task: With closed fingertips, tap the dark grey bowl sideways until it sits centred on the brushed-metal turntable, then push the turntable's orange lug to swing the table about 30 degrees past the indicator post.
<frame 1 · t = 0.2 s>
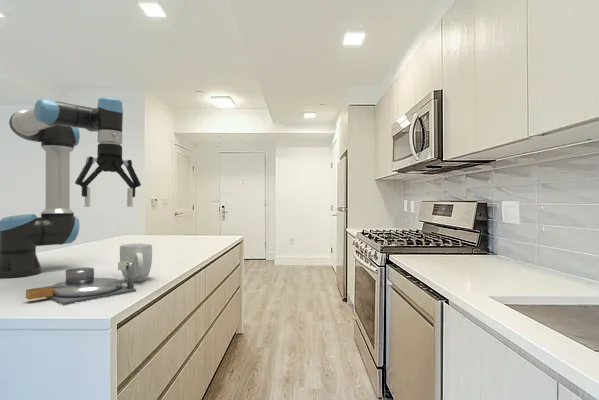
hand: (109, 206, 127), 27 cm above the table, fingers open, 13 cm apart
turntable: (77, 286, 117), point 2 cm above the table, hinge at 0.0°, touching dark grey bowl
mug: (136, 281, 137), on the table
dark grey bowl: (80, 281, 123), point 3 cm above the table, touching turntable
base plate: (87, 292, 119), on the table
indicator post: (130, 290, 122), resting on base plate
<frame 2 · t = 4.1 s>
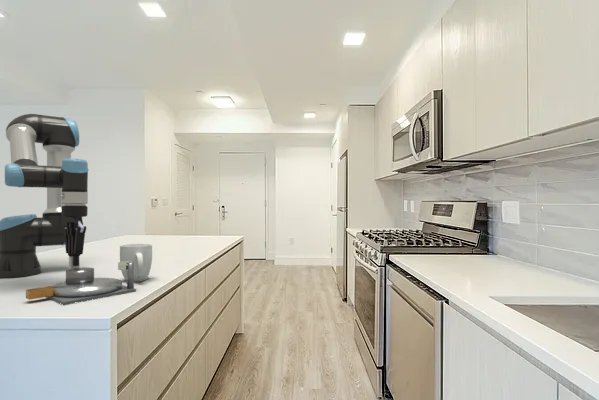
hand: (74, 275, 125), 4 cm above the table, fingers closed
turntable: (77, 286, 117), point 2 cm above the table, hinge at 0.0°
dark grey bowl: (80, 281, 123), point 3 cm above the table, touching gripper
everything else where it was.
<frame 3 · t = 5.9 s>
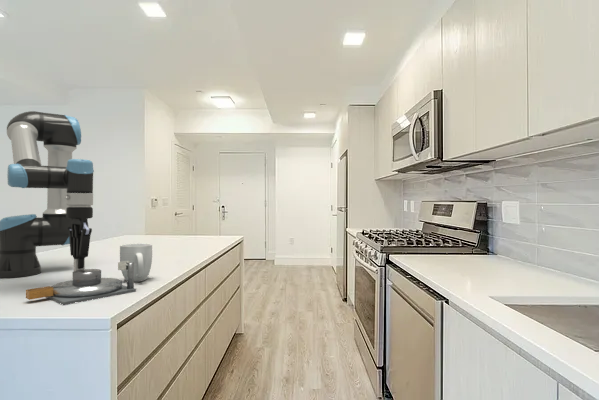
hand: (79, 278, 123), 4 cm above the table, fingers closed
turntable: (77, 286, 117), point 2 cm above the table, hinge at 0.0°, touching dark grey bowl
dark grey bowl: (87, 283, 120), point 3 cm above the table, touching turntable
everything else where it was.
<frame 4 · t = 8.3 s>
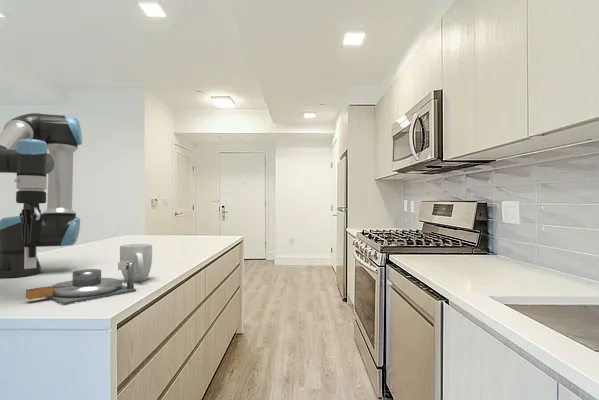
hand: (30, 268, 114), 9 cm above the table, fingers closed
nothing on the table moved.
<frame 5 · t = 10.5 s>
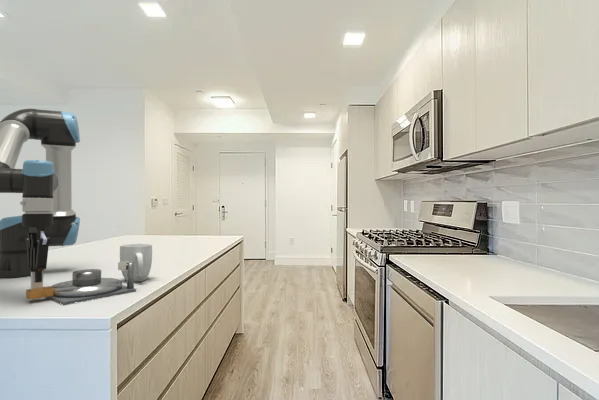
hand: (36, 293, 110), 2 cm above the table, fingers closed
turntable: (77, 286, 117), point 2 cm above the table, hinge at 0.9°, touching dark grey bowl, gripper
everything else where it was.
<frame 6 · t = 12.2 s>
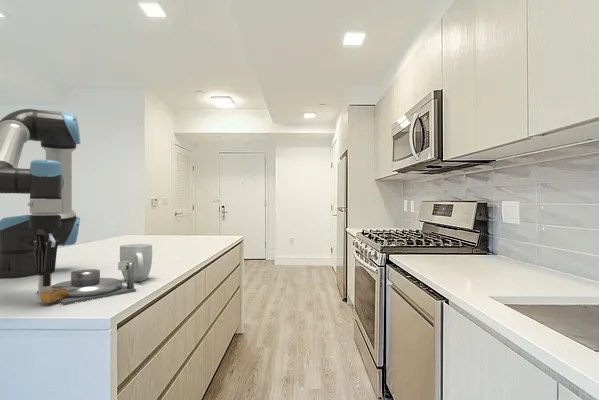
hand: (44, 297, 107), 2 cm above the table, fingers closed
turntable: (80, 287, 116), point 2 cm above the table, hinge at 28.6°, touching dark grey bowl, gripper
everything else where it was.
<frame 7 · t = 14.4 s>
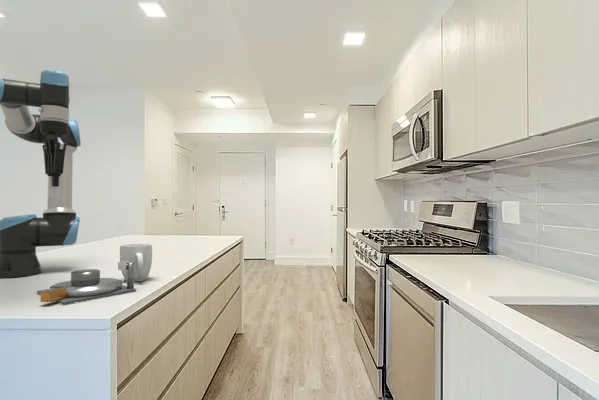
hand: (53, 197, 117), 30 cm above the table, fingers closed
turntable: (80, 287, 116), point 2 cm above the table, hinge at 28.6°, touching dark grey bowl
everything else where it was.
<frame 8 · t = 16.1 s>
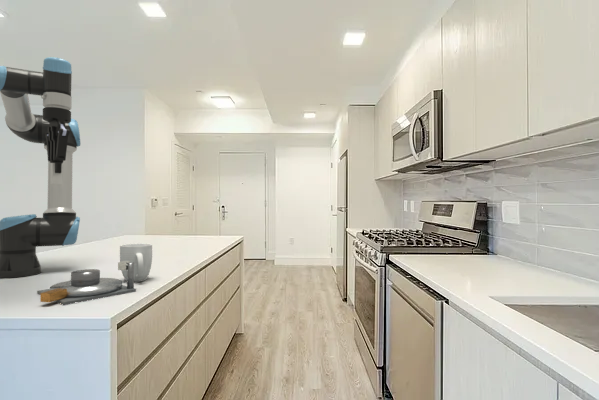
hand: (56, 183, 118), 34 cm above the table, fingers closed
nothing on the table moved.
at the end: dark grey bowl 0.8 cm from the turntable (horizontally); turntable at +29° (first picture: +0°); dark grey bowl tilted 0° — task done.
